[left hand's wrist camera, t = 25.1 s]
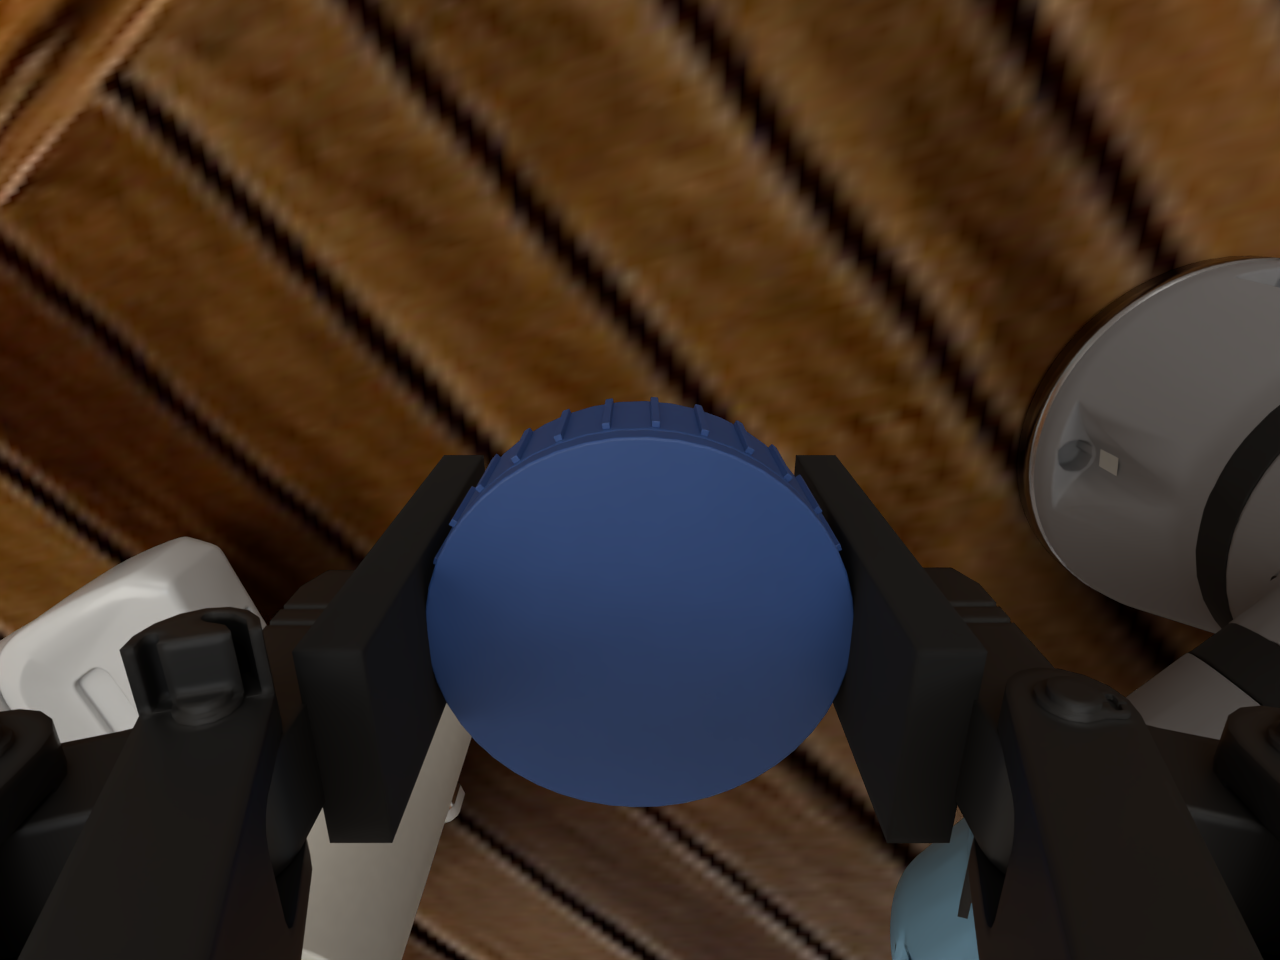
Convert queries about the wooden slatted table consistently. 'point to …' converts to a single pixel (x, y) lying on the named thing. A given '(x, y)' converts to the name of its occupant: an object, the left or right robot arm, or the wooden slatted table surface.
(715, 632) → the lid
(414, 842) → the bottle
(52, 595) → the wooden slatted table surface
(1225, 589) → the left robot arm
